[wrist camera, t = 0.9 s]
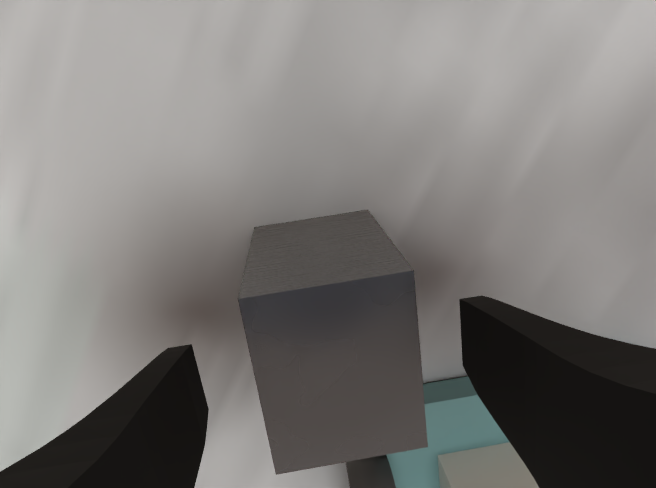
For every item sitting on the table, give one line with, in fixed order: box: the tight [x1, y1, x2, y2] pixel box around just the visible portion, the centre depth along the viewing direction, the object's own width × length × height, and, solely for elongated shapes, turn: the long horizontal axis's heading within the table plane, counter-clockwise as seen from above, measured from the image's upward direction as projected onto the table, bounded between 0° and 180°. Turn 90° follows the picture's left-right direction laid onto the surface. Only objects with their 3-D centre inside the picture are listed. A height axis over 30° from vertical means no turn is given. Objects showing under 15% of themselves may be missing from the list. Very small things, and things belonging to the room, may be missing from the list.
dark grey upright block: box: [238, 210, 428, 474], centre depth 14 cm, size 4×5×6 cm
